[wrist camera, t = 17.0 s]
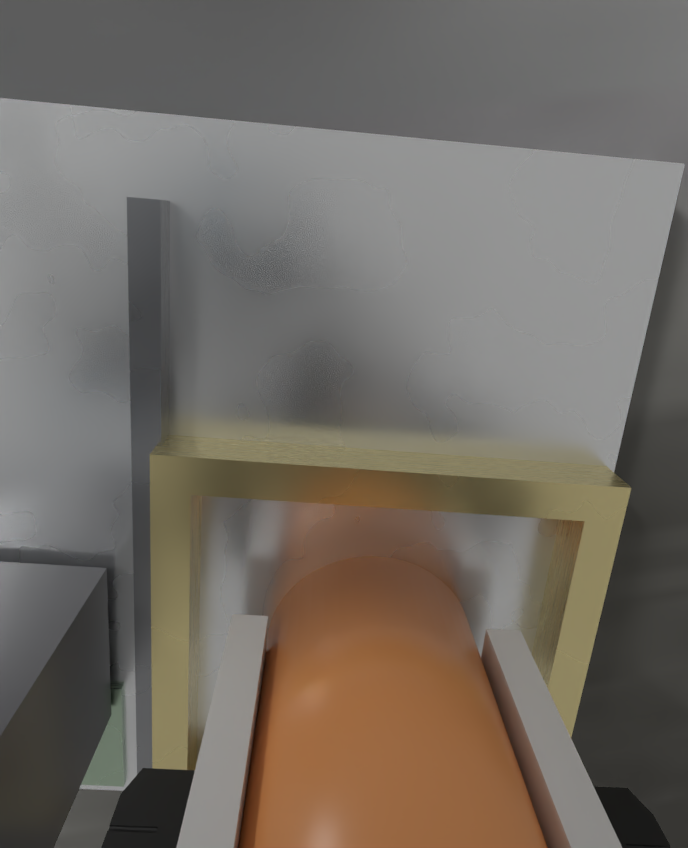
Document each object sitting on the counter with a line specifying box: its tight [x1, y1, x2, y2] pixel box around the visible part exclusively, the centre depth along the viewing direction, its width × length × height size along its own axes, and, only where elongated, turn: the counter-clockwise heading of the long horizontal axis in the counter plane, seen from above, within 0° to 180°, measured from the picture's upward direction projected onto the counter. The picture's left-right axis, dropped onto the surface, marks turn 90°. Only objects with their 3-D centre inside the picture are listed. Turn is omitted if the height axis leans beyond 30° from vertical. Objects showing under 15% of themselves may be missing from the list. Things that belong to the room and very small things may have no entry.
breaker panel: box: [0, 98, 685, 791], centre depth 14 cm, size 16×17×3 cm
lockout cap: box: [238, 556, 548, 848], centre depth 11 cm, size 5×5×8 cm
